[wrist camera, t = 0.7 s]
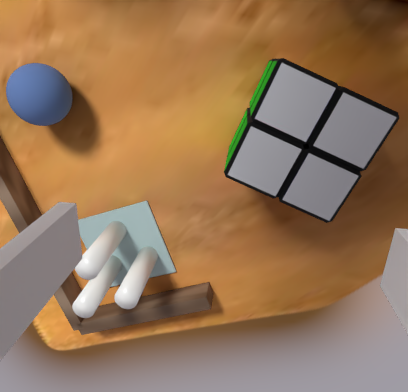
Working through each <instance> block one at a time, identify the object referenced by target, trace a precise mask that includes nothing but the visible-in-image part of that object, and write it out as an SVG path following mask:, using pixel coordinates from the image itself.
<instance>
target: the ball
mask: <svg viewBox="0 0 408 392" xmlns="http://www.w3.org/2000/svg"><path fill="white" fill-rule="evenodd" d="M6 95H7V99H8V102H9V105H10V106H11V108H12V110H13V111H14V112H15V113H16V114H17V115H18V116H19V117H20V118H21V119H23V120H25V121H26V122H28V123H31V124H34V125H39V126H47V125H52V124H55V123H57V122H59V121H61V120H62V119H63V118H64V117H66V115H67V114H68V112H69V111H70V109H71V106H72V100H73V99H72V90H71V87H70V85H69V83H68V81H67V80H66V78H65V77H64V76H63V75H62V74H61V73H60V72H59V71H57V70H56V69H54V68H53V67H51V66H48V65H45V64H40V63H31V64H26V65H23V66H21V67H19V68H18V69H16V70H15V71H14V72H13V73H12V75H11V76H10V78H9V80H8V82H7V87H6Z"/></svg>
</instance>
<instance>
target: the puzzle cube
mask: <svg viewBox="0 0 408 392" xmlns="http://www.w3.org/2000/svg"><path fill="white" fill-rule="evenodd" d="M398 120H399V115H398V112H396V111H393V110H391V109H389V108H387V107H385V106H383V105H381V104H379V103H377V102H374V101H372V100H370V99H368V98H366V97H364V96H362V95H360V94H357V93H355V92H353V91H351V90H349V89H347V88H344V87H341V86H338V84H337V83H335V82H333V81H330V80H328V79H326V78H324V77H322V76H320V75H318V74H316V73H314V72H311V71H309V70H307V69H305V68H303V67H301V66H299V65H297V64H294V63H292V62H290V61H288V60H286V59H284V58H281V59H272V60H270V61H269V62H268V65H267V67H266V69H265V71H264V73H263V75H262V77H261V80H260V82H259V84H258V86H257V88H256V90H255V92H254V94H253V97H252V99H251V101H250V108H247V110H246V112H245V114H244V116H243V118H242V121H241V123H240V125H239V127H238V129H237V131H236V133H235V135H234V138H233V140H232V142H231V144H230V146H229V150H228V155H227V160H226V165H225V170H224V173H225V176H226V177H227V178H229V179H232V180H234V181H236V182H238V183H240V184H243V185H245V186H247V187H249V188H251V189H254V190H256V191H258V192H260V193H263V194H265V195H267V196H269V197H271V198H276V197H279V200H280V202H282V203H284V204H286V205H289V206H291V207H293V208H295V209H297V210H300V211H302V212H304V213H306V214H308V215H311V216H313V217H315V218H317V219H320V220H322V221H324V222H326V223H327V222H331V221H332V220H333V219H334V217H335V216H336V214H337V213H338V211H339V210H340V208H341V207H342V205H343V204H344V202H345V201H346V199H347V198H348V196H349V194H350V193H351V191H352V190H353V188H354V187H355V185H356V184H357V182H358V181H359V179H360V178H361V174H360V171H363V170H366V168H367V167H368V165H369V164H370V162H371V161H372V159H373V158H374V156H375V155H376V153H377V152H378V150H379V149H380V147H381V146H382V144H383V142H384V141H385V139H386V138H387V136H388V135H389V133H390V132H391V130H392V129H393V127H394V126H395V124H396V123H397V121H398Z"/></svg>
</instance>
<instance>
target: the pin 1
mask: <svg viewBox="0 0 408 392" xmlns="http://www.w3.org/2000/svg"><path fill="white" fill-rule="evenodd" d="M121 268H122V261H121V260H120V259H119V258H118V257H117V256H113V255H111V257H110V258H109V260H108V261H107V263H106V264H105V265H104V267H103V268H102V270H101V271H100V273H99V274H98V275H97V277H96V278H94V279H92V280H89V282H88V283H87V285H86V286H85V287H84V289H83V290H82V292H81V293H80V294H79V296H78V297H77V299H76V300H75V301H74V303H73V305H72V308H73V311H74V312H75V314H76V315H78V316H79V317H82V318H89V317H91V316H93V314H94V313H95V311H96V309H97V308H98V306H99V304H100V303H101V301H102V299H103V298H104V296H105V294H106V293H107V291H108V290H109V288H110V286H111V285H112V283H113V281H114V280H115V278H116V276H117V275H118V273H119V271H120V270H121Z"/></svg>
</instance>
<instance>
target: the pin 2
mask: <svg viewBox="0 0 408 392" xmlns="http://www.w3.org/2000/svg"><path fill="white" fill-rule="evenodd" d="M157 259H158V253H157V251H156V250H155V249H154V248H152V247H149V246H146V247H143V248H142V249H141V250H140V251H139V253H138V255H137V257H136V259H135V260H134V262H133V264H132V266H131V267H130V269H129V271H128V273H127V275H126V276H125V278H124V280H123V282H122V283H121V285H120V287H119V289H118V290H117V292H116V294H115V302H116V303H117V305H119V306H120V307H121V308H124V309H132V308H134V307H135V306H136V305H137V303H138V301H139V298H140V296H141V294H142V292H143V290H144V287H145V285H146V283H147V281H148V279H149V276H150V274H151V272H152V270H153V268H154V265H155V263H156V261H157Z"/></svg>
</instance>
